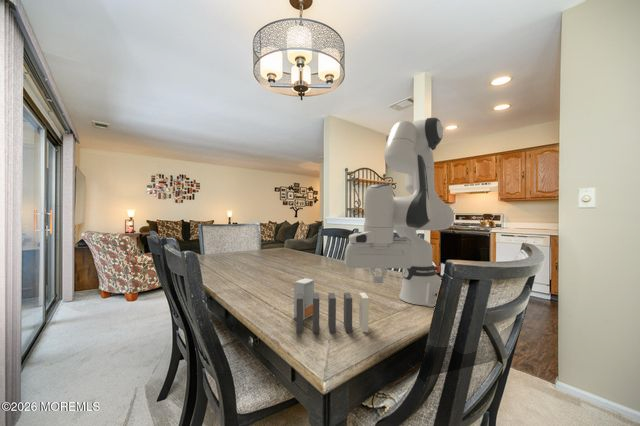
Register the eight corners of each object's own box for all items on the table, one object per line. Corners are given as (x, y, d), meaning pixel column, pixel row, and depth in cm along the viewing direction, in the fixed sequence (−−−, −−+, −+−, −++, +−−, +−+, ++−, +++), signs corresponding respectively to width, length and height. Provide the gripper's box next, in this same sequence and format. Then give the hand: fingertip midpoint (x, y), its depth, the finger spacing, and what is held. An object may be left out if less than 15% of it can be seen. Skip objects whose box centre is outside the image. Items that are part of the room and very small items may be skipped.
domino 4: (349, 324, 79) (349, 292, 79) (352, 332, 74) (352, 298, 74) (343, 325, 79) (343, 292, 79) (345, 332, 74) (346, 298, 74)
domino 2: (318, 325, 79) (318, 293, 79) (319, 333, 74) (319, 298, 74) (312, 325, 79) (312, 293, 79) (313, 333, 74) (313, 298, 74)
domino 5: (364, 324, 80) (364, 292, 79) (368, 332, 75) (368, 298, 74) (359, 324, 79) (359, 292, 79) (362, 332, 74) (362, 298, 74)
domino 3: (334, 325, 79) (334, 293, 79) (335, 332, 74) (335, 298, 74) (328, 325, 79) (328, 293, 79) (329, 332, 74) (329, 298, 74)
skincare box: (303, 320, 82) (304, 283, 82) (293, 317, 84) (293, 281, 84) (314, 314, 87) (314, 279, 87) (304, 311, 89) (304, 277, 89)
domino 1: (303, 325, 79) (303, 293, 79) (302, 333, 74) (302, 298, 74) (297, 325, 79) (297, 293, 78) (296, 333, 74) (296, 298, 74)
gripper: (408, 236, 81) (407, 280, 80) (343, 235, 80) (343, 279, 79) (416, 238, 74) (416, 285, 74) (346, 237, 73) (346, 285, 73)
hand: (377, 282), depth 77 cm, fingers closed
